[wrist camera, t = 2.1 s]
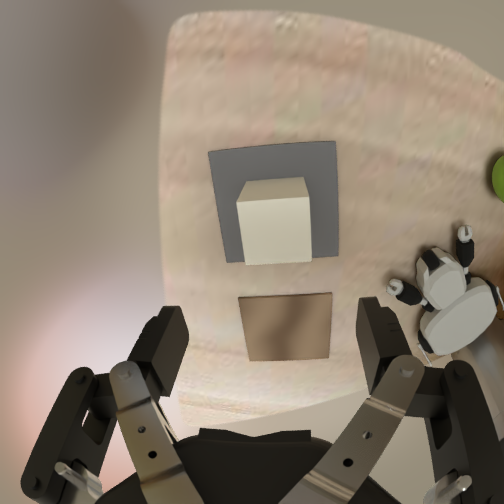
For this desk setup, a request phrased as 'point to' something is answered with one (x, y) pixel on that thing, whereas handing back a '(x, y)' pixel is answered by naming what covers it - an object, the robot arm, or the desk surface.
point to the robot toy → (449, 298)
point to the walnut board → (287, 326)
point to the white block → (275, 221)
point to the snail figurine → (499, 178)
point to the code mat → (274, 167)
